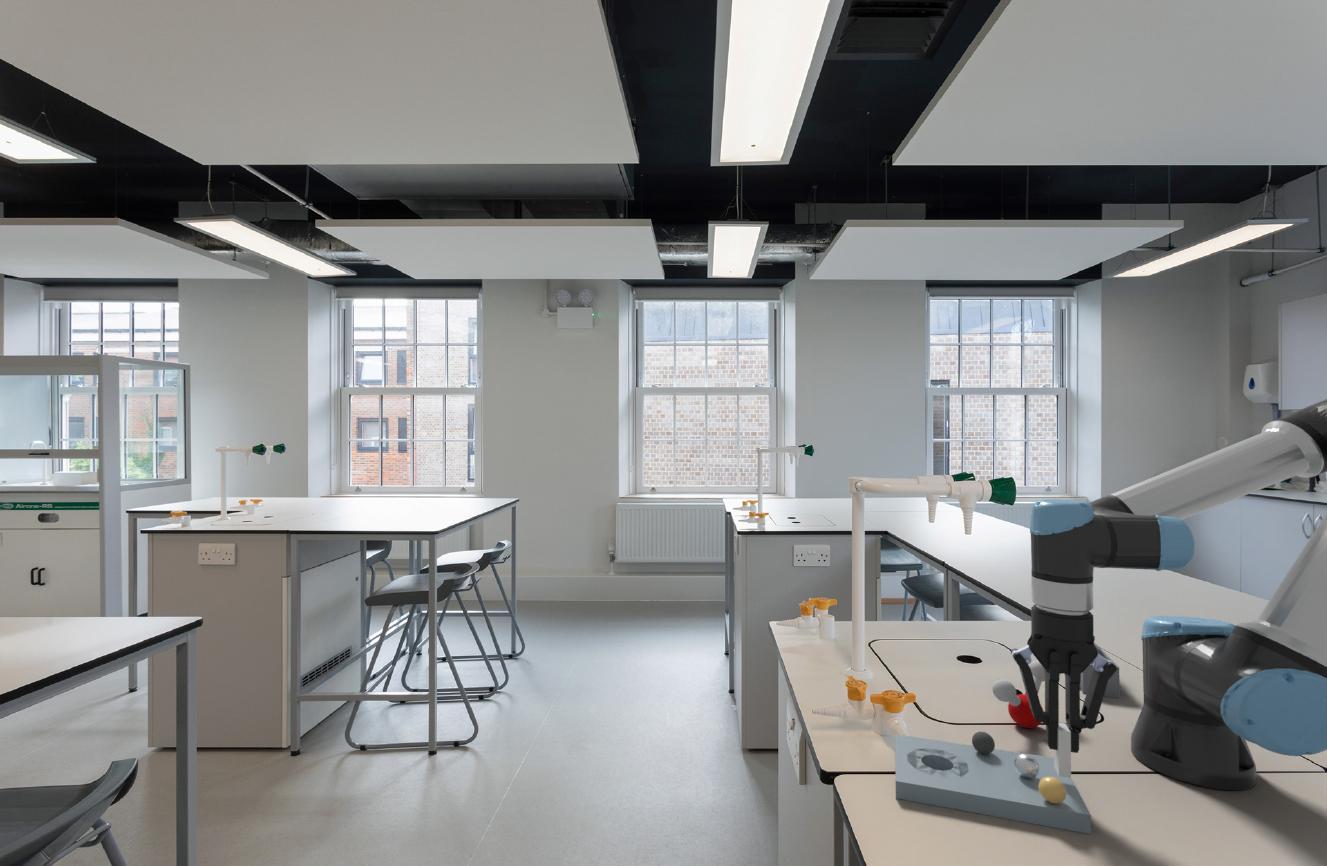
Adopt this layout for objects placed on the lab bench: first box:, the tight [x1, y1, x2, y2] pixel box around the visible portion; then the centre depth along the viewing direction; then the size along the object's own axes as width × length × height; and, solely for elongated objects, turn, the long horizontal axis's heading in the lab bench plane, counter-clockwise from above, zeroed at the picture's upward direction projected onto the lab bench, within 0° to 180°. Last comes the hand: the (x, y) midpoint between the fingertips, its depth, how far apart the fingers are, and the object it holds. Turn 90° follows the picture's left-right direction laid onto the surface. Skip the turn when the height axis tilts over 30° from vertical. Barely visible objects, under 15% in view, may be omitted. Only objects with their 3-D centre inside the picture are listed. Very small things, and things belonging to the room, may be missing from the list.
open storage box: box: [1080, 641, 1121, 699], centre depth 131 cm, size 6×16×6 cm, turn 160°
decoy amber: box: [1039, 777, 1066, 804], centre depth 84 cm, size 3×3×3 cm
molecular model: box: [991, 660, 1045, 729], centre depth 111 cm, size 18×6×10 cm, turn 133°
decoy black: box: [971, 731, 996, 754], centre depth 97 cm, size 3×3×3 cm
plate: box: [894, 733, 1092, 835], centre depth 92 cm, size 24×15×2 cm, turn 70°
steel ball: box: [1014, 753, 1040, 779], centre depth 90 cm, size 3×3×3 cm
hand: (1062, 772), depth 88 cm, fingers closed
